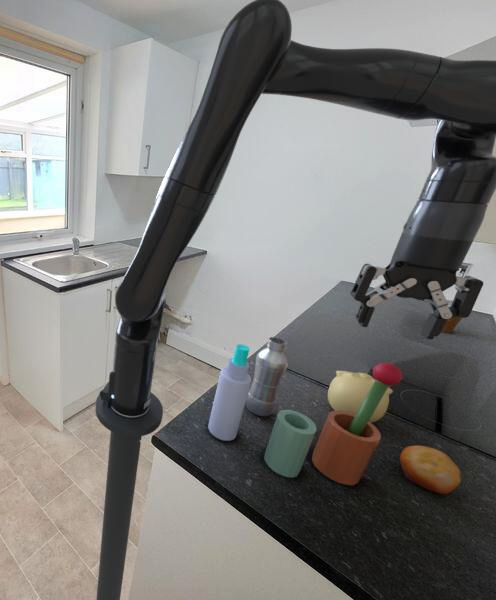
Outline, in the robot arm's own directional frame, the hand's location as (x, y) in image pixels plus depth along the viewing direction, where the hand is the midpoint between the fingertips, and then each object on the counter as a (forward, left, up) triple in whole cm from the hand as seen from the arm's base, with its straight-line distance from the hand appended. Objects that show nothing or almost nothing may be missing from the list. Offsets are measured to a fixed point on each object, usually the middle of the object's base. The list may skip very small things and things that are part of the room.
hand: (393, 330), depth 52 cm
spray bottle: (-21, 0, -31) cm, 38 cm away
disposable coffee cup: (+60, +105, -31) cm, 125 cm away
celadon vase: (-10, -4, -31) cm, 33 cm away
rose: (0, 0, -30) cm, 30 cm away
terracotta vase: (0, 0, -31) cm, 31 cm away
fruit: (+15, +4, -31) cm, 35 cm away
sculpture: (+8, +22, -31) cm, 39 cm away
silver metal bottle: (-14, +12, -31) cm, 36 cm away
